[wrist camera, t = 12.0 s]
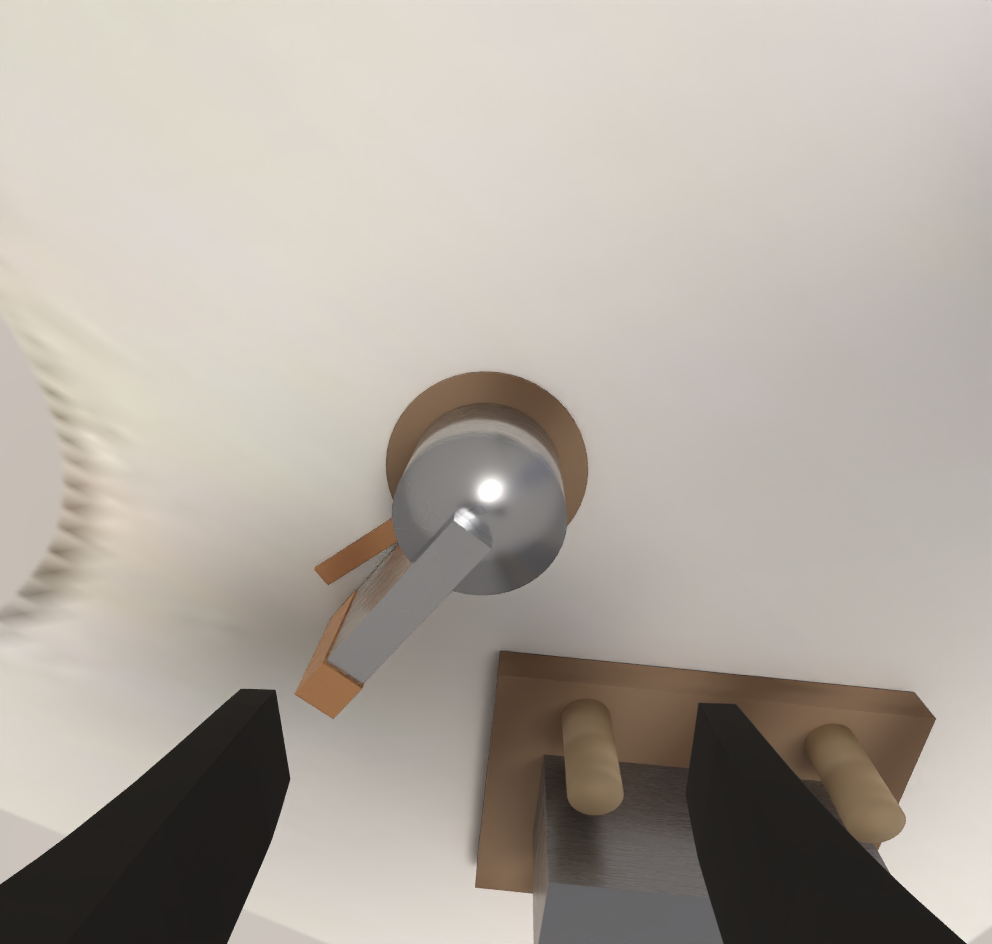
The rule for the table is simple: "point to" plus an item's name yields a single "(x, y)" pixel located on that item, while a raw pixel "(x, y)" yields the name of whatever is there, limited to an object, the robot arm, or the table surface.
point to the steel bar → (625, 863)
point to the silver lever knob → (448, 539)
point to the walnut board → (680, 743)
